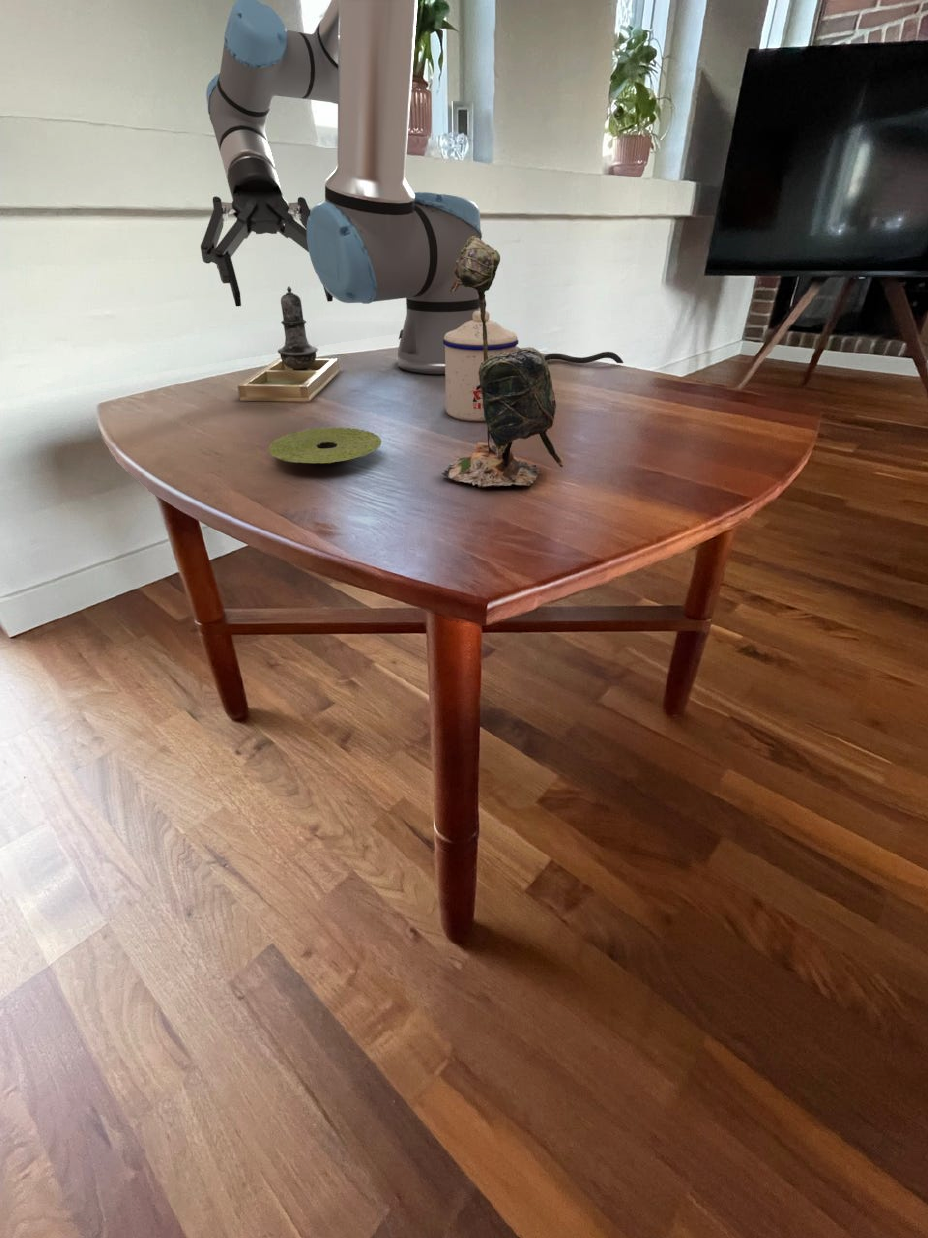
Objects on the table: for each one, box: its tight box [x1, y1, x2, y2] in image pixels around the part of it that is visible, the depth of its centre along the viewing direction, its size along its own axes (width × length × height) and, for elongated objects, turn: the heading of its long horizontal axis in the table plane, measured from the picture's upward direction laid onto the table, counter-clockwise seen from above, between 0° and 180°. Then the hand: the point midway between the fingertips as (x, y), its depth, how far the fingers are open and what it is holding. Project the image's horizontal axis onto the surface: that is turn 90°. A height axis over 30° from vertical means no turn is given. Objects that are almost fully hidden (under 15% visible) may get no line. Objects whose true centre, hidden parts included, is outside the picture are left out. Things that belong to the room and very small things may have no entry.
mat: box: [268, 427, 382, 465], centre depth 63 cm, size 11×11×2 cm
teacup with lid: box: [443, 310, 521, 422], centre depth 76 cm, size 12×9×12 cm
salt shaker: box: [277, 285, 319, 371], centre depth 91 cm, size 6×6×12 cm
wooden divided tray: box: [237, 357, 340, 403], centre depth 90 cm, size 10×18×2 cm, turn 177°
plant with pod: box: [441, 236, 565, 488], centre depth 54 cm, size 8×11×20 cm
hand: (285, 297), depth 91 cm, fingers open, 13 cm apart
